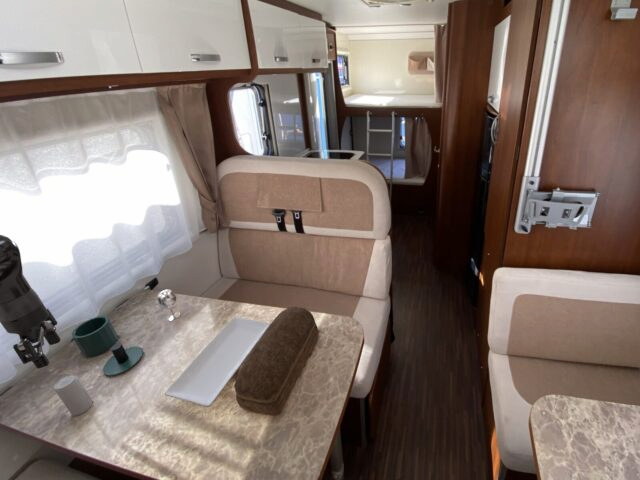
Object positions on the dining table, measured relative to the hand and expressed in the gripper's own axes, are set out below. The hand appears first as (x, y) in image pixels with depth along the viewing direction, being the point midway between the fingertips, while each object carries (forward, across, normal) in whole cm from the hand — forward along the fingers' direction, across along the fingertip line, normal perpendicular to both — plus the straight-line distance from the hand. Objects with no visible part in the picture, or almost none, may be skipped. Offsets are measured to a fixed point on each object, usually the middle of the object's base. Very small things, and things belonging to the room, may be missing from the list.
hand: (50, 354), depth 83 cm
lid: (+22, -12, +8) cm, 26 cm away
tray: (+22, +7, +39) cm, 45 cm away
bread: (+23, +20, +55) cm, 63 cm away
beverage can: (+22, +1, 0) cm, 23 cm away
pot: (+22, -26, -1) cm, 35 cm away
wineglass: (+22, -28, +22) cm, 42 cm away
